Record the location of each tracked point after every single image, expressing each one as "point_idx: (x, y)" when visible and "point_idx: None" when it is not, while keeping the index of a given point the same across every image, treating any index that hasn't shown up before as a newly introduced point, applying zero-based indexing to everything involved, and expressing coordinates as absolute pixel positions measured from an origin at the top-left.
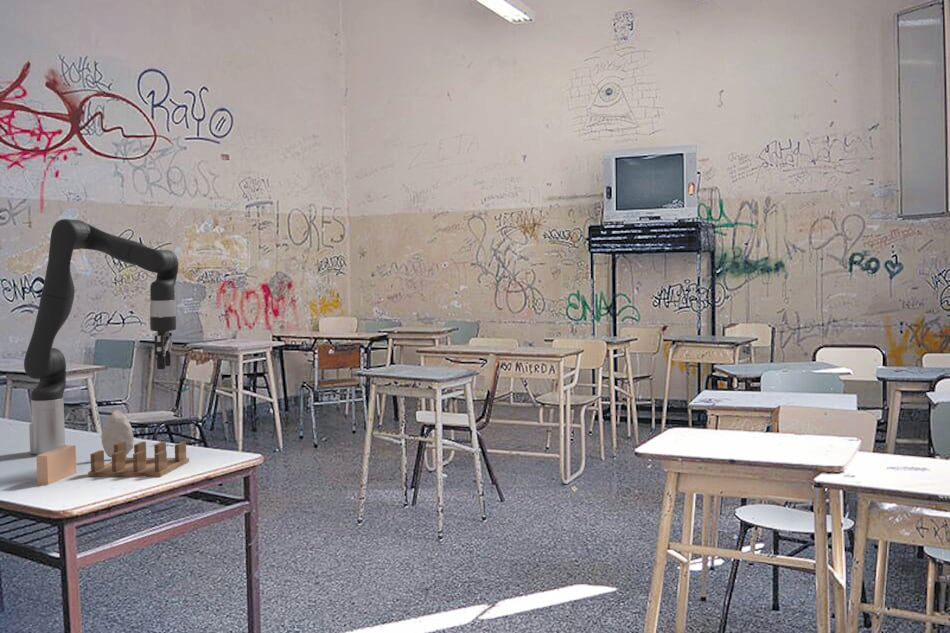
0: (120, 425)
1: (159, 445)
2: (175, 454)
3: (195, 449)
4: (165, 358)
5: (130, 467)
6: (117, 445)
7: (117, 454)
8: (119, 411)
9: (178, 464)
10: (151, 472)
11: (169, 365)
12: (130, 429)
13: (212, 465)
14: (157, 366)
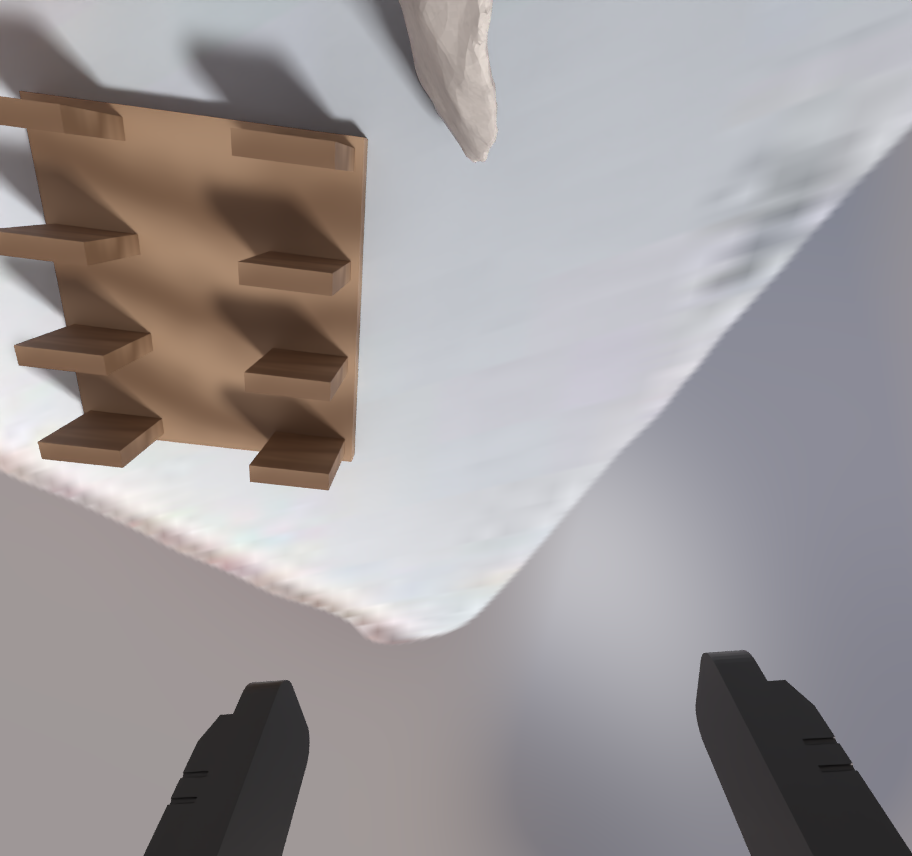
0: (434, 68)
1: (260, 391)
2: (265, 447)
3: (607, 413)
4: (764, 811)
5: (152, 276)
6: (233, 153)
7: (12, 255)
8: (476, 14)
9: (252, 448)
10: (83, 398)
11: (697, 720)
12: (479, 139)
13: (296, 543)
14: (234, 717)
